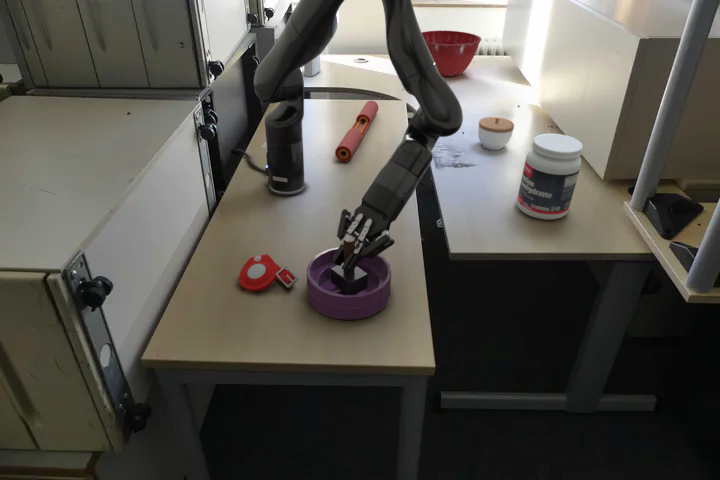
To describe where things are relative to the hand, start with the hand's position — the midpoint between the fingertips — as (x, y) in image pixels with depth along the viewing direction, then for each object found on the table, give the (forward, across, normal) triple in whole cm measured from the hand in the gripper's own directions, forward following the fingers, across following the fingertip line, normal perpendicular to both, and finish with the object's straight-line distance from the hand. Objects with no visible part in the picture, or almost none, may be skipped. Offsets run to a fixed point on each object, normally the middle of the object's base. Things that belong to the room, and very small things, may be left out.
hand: (340, 267), depth 100 cm
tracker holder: (+11, -14, 0) cm, 18 cm away
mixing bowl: (-90, -93, +101) cm, 164 cm away
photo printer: (-56, -127, +67) cm, 154 cm away
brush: (+2, 0, +5) cm, 6 cm away
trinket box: (-54, -28, +66) cm, 90 cm away
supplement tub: (-38, +5, +50) cm, 63 cm away
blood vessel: (-35, -61, +46) cm, 84 cm away
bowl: (+4, 0, +7) cm, 8 cm away
